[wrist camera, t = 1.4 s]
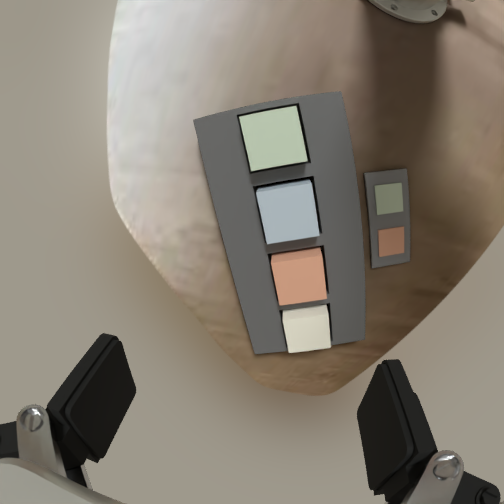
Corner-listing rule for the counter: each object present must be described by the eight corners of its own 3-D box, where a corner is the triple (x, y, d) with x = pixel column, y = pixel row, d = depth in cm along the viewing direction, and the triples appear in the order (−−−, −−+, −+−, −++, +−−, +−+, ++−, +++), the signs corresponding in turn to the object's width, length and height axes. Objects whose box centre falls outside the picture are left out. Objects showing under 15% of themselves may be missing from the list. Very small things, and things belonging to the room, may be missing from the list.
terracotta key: (319, 244, 29) (322, 255, 27) (324, 285, 31) (326, 298, 29) (272, 252, 30) (271, 263, 28) (280, 292, 32) (279, 305, 30)
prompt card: (405, 168, 26) (407, 169, 26) (408, 259, 31) (410, 262, 30) (363, 172, 27) (365, 173, 27) (370, 266, 31) (372, 269, 31)
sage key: (295, 108, 24) (296, 105, 22) (305, 158, 26) (307, 161, 23) (243, 118, 25) (239, 116, 23) (254, 167, 27) (251, 171, 24)
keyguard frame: (335, 95, 25) (341, 91, 22) (360, 325, 35) (364, 339, 32) (201, 121, 27) (193, 119, 24) (257, 339, 37) (254, 354, 35)
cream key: (325, 300, 32) (328, 314, 29) (328, 333, 34) (330, 347, 31) (283, 306, 33) (282, 320, 30) (289, 338, 35) (288, 353, 32)
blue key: (308, 178, 27) (311, 183, 24) (316, 226, 28) (319, 235, 26) (258, 187, 28) (256, 192, 25) (268, 234, 29) (267, 244, 27)
